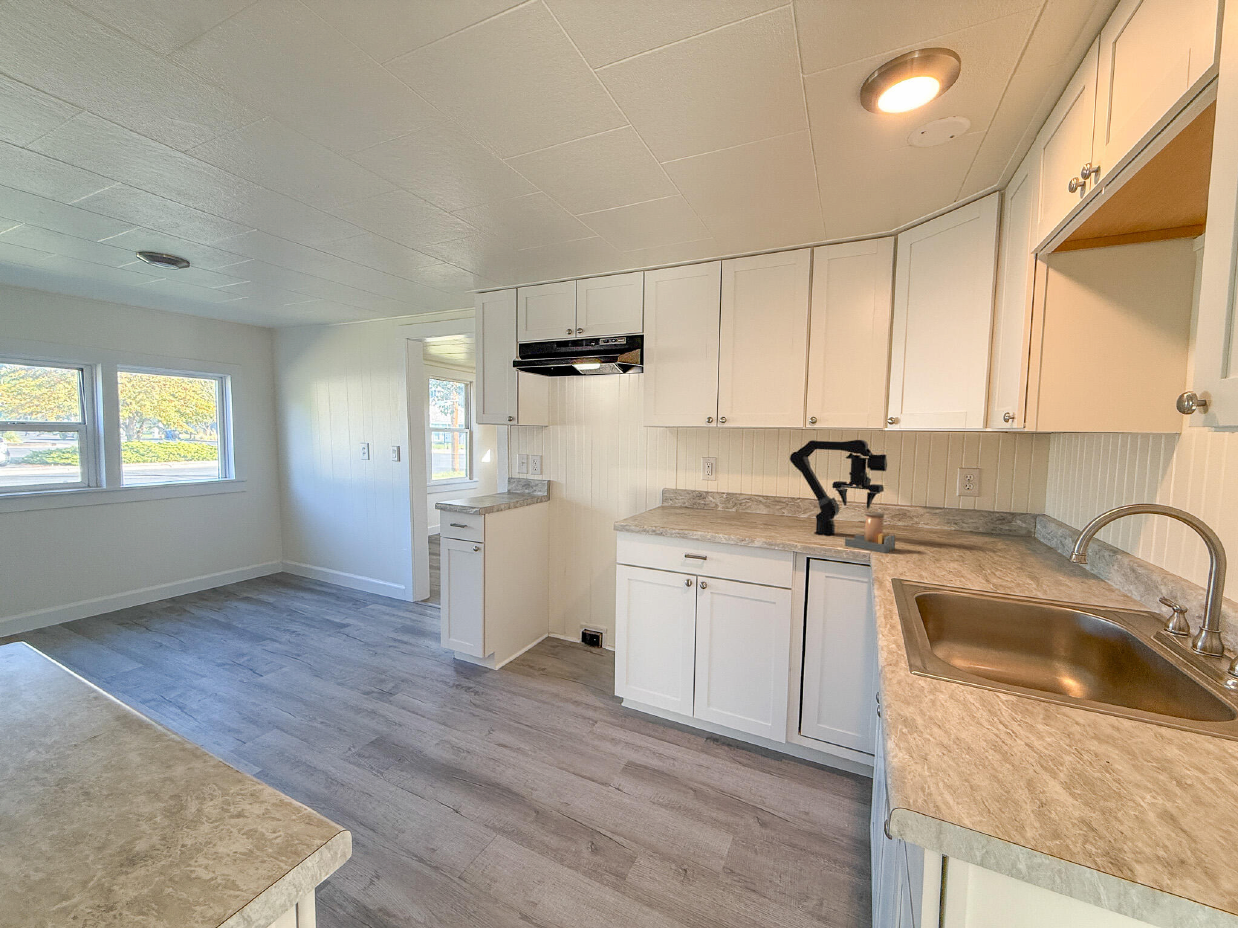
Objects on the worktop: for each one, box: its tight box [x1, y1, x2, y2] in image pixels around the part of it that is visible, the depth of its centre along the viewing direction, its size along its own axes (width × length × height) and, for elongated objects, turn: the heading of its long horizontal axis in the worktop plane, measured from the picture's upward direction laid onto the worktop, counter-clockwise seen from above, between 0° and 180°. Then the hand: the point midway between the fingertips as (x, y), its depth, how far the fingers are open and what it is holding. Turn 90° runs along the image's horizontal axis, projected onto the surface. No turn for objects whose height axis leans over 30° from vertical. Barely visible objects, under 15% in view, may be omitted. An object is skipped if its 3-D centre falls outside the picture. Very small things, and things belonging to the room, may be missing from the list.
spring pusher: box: [878, 531, 890, 544], centre depth 184 cm, size 1×8×6 cm, turn 133°
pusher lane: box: [844, 534, 896, 554], centre depth 188 cm, size 15×10×6 cm
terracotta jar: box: [864, 511, 885, 543], centre depth 186 cm, size 6×6×13 cm
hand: (856, 507), depth 204 cm, fingers open, 9 cm apart
